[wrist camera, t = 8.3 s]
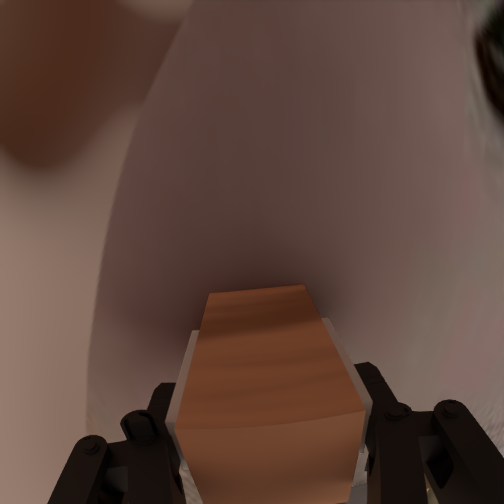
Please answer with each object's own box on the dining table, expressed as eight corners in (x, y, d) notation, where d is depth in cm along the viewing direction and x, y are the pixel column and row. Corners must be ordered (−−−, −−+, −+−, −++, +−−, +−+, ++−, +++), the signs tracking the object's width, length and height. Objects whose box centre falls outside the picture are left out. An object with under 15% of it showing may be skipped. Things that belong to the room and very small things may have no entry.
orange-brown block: (209, 293, 17) (174, 429, 7) (303, 283, 17) (365, 410, 7) (242, 475, 21) (243, 582, 11) (305, 469, 21) (325, 573, 11)
